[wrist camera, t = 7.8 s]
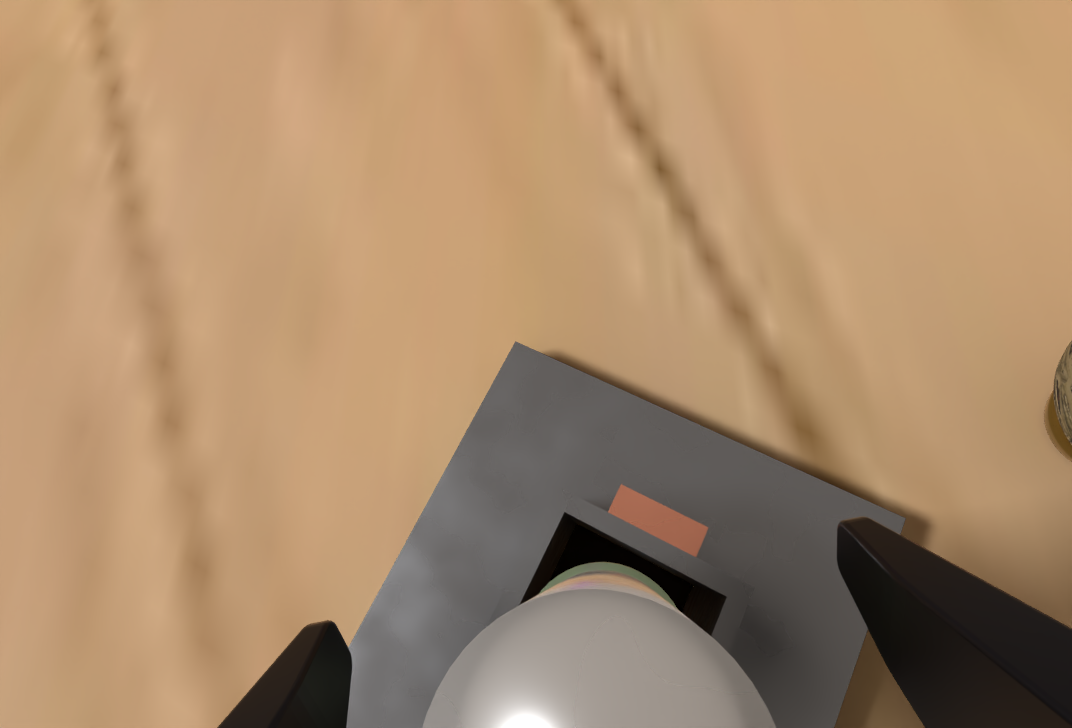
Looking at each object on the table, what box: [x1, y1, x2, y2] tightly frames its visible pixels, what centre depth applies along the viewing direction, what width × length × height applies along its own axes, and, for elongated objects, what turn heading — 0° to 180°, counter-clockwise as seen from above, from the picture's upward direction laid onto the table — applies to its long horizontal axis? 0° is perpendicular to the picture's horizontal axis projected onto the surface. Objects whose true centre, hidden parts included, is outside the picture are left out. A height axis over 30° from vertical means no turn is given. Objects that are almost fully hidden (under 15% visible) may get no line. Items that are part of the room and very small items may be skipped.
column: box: [422, 562, 776, 728], centre depth 10 cm, size 4×4×12 cm
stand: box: [346, 341, 906, 728], centre depth 17 cm, size 14×14×6 cm
